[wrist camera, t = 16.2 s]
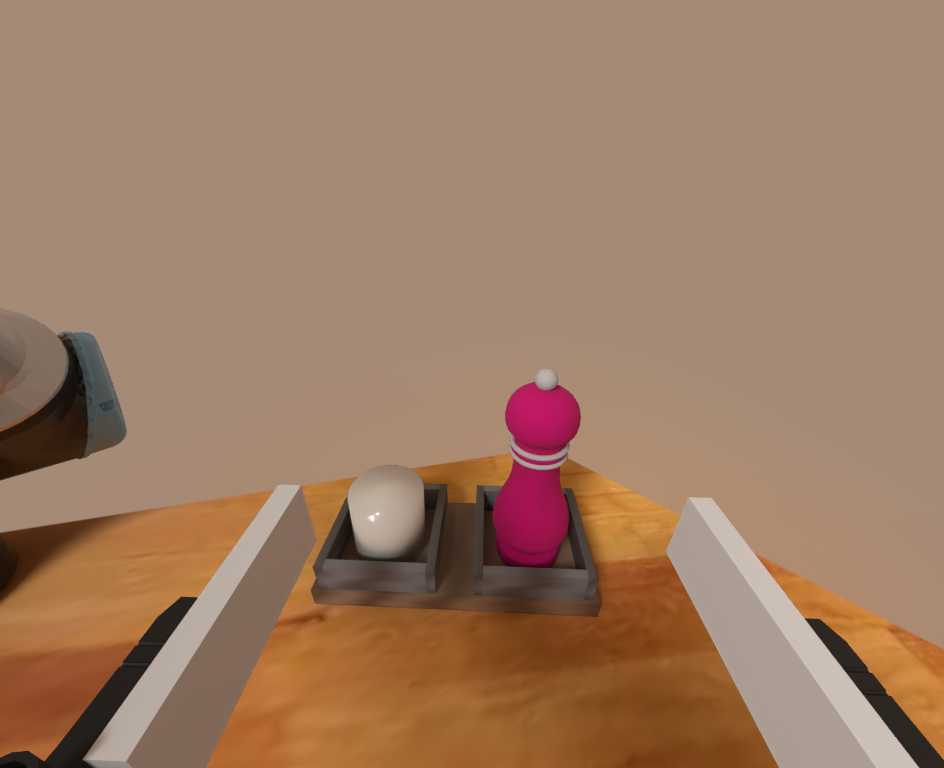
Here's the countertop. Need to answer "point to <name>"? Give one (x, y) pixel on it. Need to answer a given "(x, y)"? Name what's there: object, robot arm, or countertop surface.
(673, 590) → the countertop surface
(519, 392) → the pepper mill
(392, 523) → the white glossy dome
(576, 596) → the two-compartment tray
